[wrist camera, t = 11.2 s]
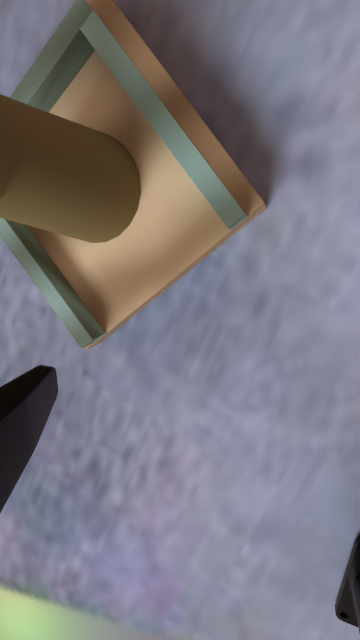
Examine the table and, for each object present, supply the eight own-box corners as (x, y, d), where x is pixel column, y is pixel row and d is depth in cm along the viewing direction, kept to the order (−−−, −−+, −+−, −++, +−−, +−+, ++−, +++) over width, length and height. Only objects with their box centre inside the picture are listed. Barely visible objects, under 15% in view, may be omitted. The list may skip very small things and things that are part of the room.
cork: (49, 132, 18) (-242, -15, 8) (144, 131, 17) (-73, -55, 7) (50, 239, 20) (-196, 226, 10) (138, 247, 18) (-48, 243, 8)
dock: (266, 208, 18) (262, 198, 14) (102, 341, 23) (71, 356, 19) (118, 9, 18) (81, -45, 15) (-12, 186, 23) (-60, 175, 20)
